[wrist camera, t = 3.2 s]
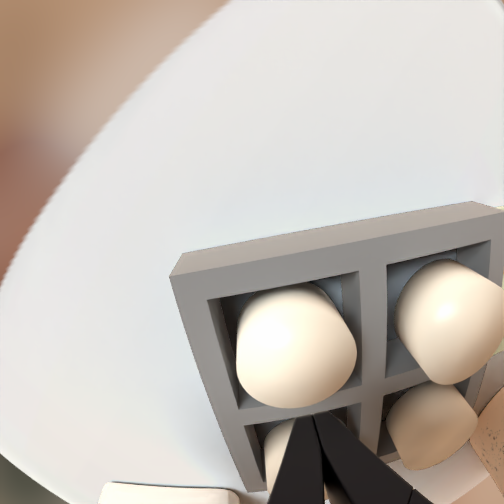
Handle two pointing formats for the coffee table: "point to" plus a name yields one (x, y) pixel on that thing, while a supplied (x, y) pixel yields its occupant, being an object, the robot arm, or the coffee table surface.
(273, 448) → the button
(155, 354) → the coffee table surface
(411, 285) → the button
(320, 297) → the button
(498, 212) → the lights out board
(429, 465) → the button
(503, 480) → the teacup with lid
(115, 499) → the photo printer
